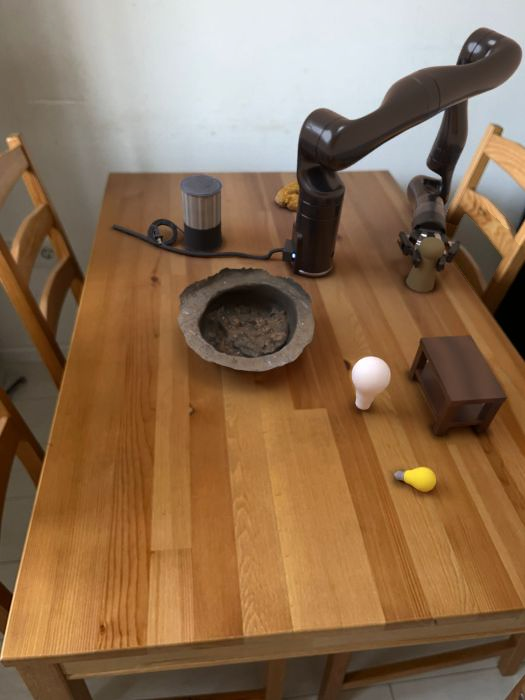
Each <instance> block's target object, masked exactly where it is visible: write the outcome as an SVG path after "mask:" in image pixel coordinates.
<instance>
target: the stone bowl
mask: <svg viewBox="0 0 525 700" xmlns="http://www.w3.org/2000/svg"><path fill="white" fill-rule="evenodd" d="M178 298H179V303H180V304H179V305H178V309H179V311H180V313H179V315H177V322H178V325H179V328H180V331H181V332H182V334H183V335H184V338H185V342H186V344H187V345H188V347H189V348H190V349H192V350H193V351H194V352H195V354H197V355H198V356H200V358H201V359H203V360H204V361H206V362H210V363H216V364H218V365H221V366H224V367H228V368H231V369H234V370H237V371H240V370H241V371H245V372H247V371H248V372H265V371H269V370H272V369H274V368H277V367H282V366H284V365H286V364H288V363H293V362H294V361H295V360H297V359H298V357H299V356H300V355H301V354H302V353H303V351H304V348H305V347H306V346H307V345H309V344H311V343H312V340H313V336H314V331H315V327H316V325H315V324H316V323H315V322H316V321H315V319H314V313H313V308H312V307H311V305H312V298H311V296H310V293H308V292H307V291H306V290H305V289H304V288H303V286H302V285H301V284H300V283H298V282H297V281H295V280H294V279H293V278H291V277H285V276H281V275H272V274H270V272H268V270H266V269H264V268H253V267H248V268H246V267H245V266H243V267H241V268H230V267H224V268H222V269H220V270H219V271H218V272H216V273H214V274H213V275H209V276H207V278H203V279H201V280H198V281H194V282H193V283H190V284H189V285H188V286H186V287H185V288H184V289H183V291H182V292H181V293H180V294H179V296H178Z"/></svg>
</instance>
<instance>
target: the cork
mask: <svg viewBox="0 0 525 700" xmlns="http://www.w3.org/2000/svg"><path fill="white" fill-rule="evenodd" d="M444 251H446V247H445V245H444V243H443V241H441V240H440V239H438V238H435V237H427V238H425V239H423V240H422V241H421V243H420V245H419V252H420V263H419V266H418V268H414V265H412V267H411V269H410V271H409V274H408V275H407V277H406V280H405V283H406V285H407V286H408V288H410V289H411V290H414V291H415V292H420V293H429V292H431V291H433V289H434V286H435V281H436V276H437V264H438V261H439V258H440V257H441V256H442V255H443V254H444Z"/></svg>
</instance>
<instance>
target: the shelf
mask: <svg viewBox="0 0 525 700" xmlns="http://www.w3.org/2000/svg"><path fill="white" fill-rule="evenodd" d="M408 375H409V378H410V380H411V381H415V380H416V381H418V382H419V385H420V387H421V390H422V392H423V394H424V396H425V398H426V401H427V403H428V405H429V407H430V410H431V412H432V414H433V417H434V419H435V421H434V423H433V425H432V427H431V428H432V430H433V433H434V435H435V436H443V435H444V436H445V435H446V433H447V431H448V429H449V428H451V427H466V426H473V428H474V429H475V432H476V433H485V432H487V430H488V429H489V427H490V425H491V424H492V422H493V421H494V419H495V417H496V416H497V413H498V412H499V410H500V408H501V407H502V405H503V404H504V403H505V402H506V401H507V399H508V396H507V393H506V392H505V391H504V389H503V387H502V386H501V384H500V382H499V380H498V379H497V377H496V376H495V375H496V374H494V372H493V370H492V369H491V367H490V365H489V363H488V362H487V360H486V358H485V356H484V355H483V354H482V352H481V350H480V348H479V347H478V345H477V343H476V341H475V340H474V339H473V336H472V335H471V334H464V335H447V336H445V335H443V336H427V337H420V339H419V341H418V347H417V350H416V353H415V355H414V358H413V361H412V364H411V367H410V369H409V372H408Z"/></svg>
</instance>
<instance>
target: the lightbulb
mask: <svg viewBox="0 0 525 700" xmlns="http://www.w3.org/2000/svg"><path fill="white" fill-rule="evenodd" d="M352 367H353V368H352V371H351V380H352V384H353V386H354V387H355V405H356V407H357V408H358V409H359V410H363V411H366V410H368V409H370V407H371V405H372V402H374V400H375V398H376V397H377V395H379V394H381V393H382V392H384V391H385V390H386V389H387V387H388V386H389V385H390V382H391V378H392V377H391V376H392V374H391V370H390V367H389V365H388V363H386V361H384V360H383V359H382V358H380V357H377V356H365V357H363V358H360V359H359V360H358V361H356V363H355V364H354V365H353V366H352Z"/></svg>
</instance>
